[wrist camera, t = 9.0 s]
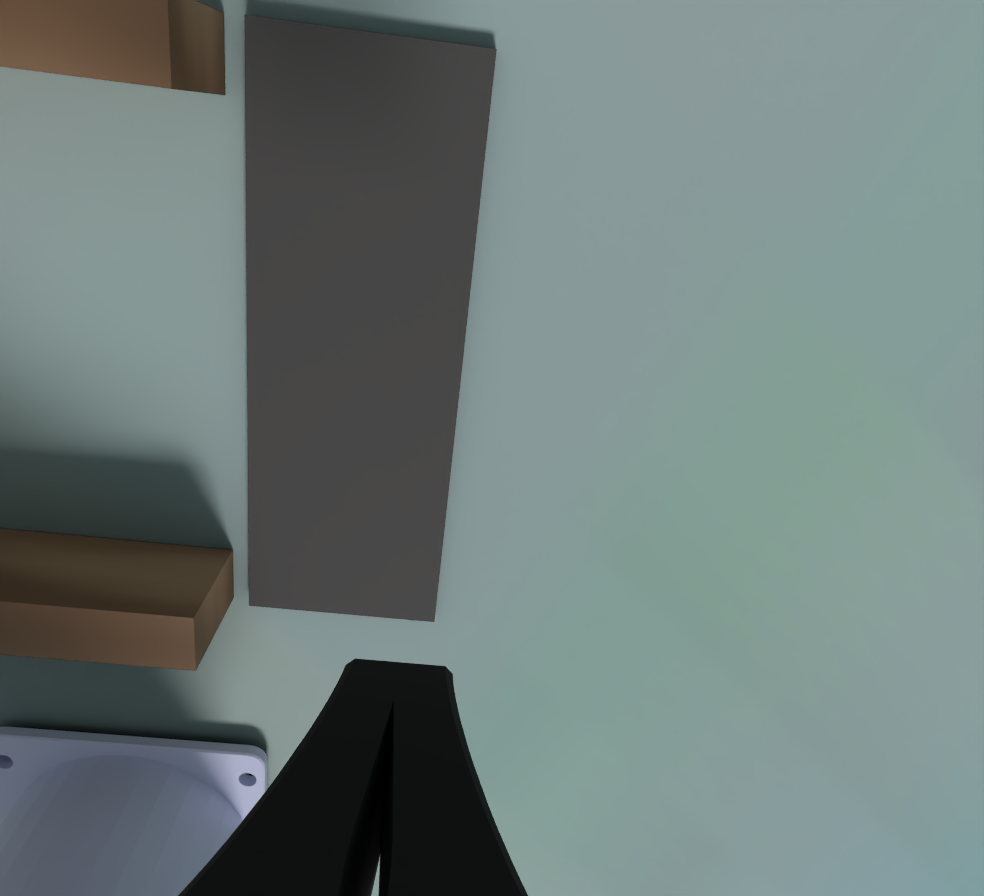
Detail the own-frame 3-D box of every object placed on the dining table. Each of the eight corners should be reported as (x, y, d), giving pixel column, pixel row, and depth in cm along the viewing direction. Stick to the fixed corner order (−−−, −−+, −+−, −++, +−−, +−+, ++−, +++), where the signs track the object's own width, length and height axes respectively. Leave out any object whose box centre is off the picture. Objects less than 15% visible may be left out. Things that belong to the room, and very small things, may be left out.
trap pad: (434, 615, 21) (433, 621, 21) (252, 599, 21) (249, 605, 20) (496, 50, 15) (496, 49, 15) (249, 17, 15) (245, 14, 15)
